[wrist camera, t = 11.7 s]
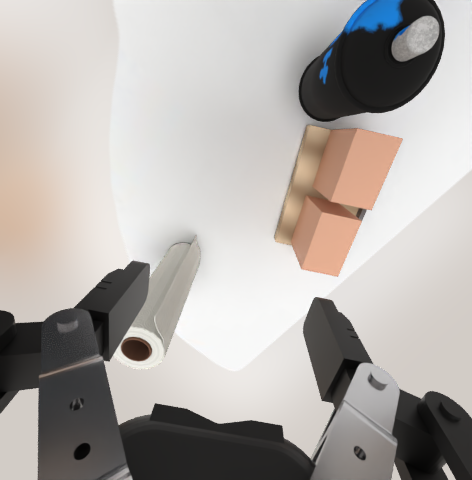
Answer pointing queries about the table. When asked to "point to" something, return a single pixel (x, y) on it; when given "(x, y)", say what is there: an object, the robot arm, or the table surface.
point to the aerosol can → (375, 60)
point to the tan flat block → (305, 183)
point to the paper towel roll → (160, 308)
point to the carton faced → (355, 166)
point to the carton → (324, 235)
